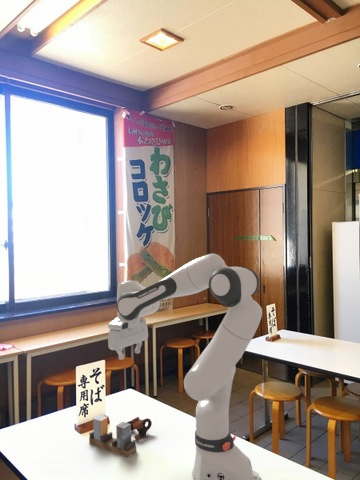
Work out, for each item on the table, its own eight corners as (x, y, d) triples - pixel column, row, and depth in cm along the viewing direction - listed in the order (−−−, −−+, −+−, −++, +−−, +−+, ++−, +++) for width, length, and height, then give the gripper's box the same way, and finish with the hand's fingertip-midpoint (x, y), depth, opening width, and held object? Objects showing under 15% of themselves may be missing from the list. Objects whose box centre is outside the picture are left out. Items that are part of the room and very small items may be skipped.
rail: (136, 451, 152) (135, 424, 152) (127, 457, 148) (126, 430, 148) (98, 437, 163) (97, 413, 163) (89, 443, 159) (88, 417, 159)
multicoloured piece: (108, 437, 159) (107, 417, 159) (101, 441, 156) (100, 420, 156) (101, 434, 161) (100, 414, 161) (93, 438, 158) (93, 418, 158)
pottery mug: (130, 446, 157) (122, 425, 159) (126, 446, 165) (118, 426, 167) (157, 431, 162) (149, 411, 164) (152, 432, 170) (144, 412, 172)
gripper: (139, 315, 169) (140, 348, 169) (104, 325, 152) (105, 361, 152) (151, 317, 165) (152, 350, 165) (117, 327, 148) (118, 364, 149)
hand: (129, 356), depth 159 cm, fingers open, 8 cm apart
